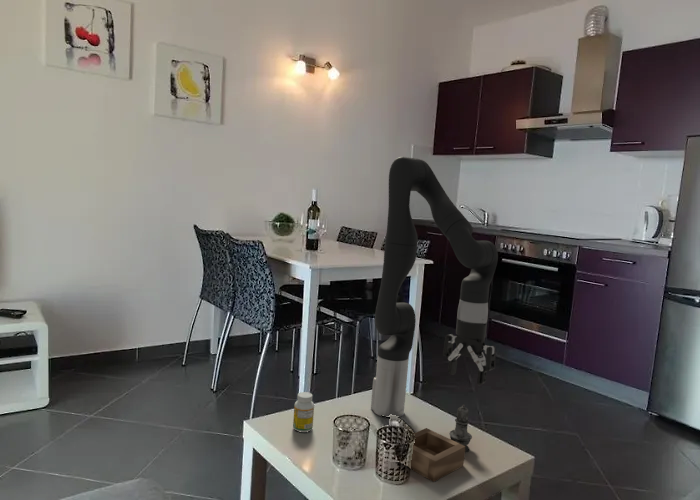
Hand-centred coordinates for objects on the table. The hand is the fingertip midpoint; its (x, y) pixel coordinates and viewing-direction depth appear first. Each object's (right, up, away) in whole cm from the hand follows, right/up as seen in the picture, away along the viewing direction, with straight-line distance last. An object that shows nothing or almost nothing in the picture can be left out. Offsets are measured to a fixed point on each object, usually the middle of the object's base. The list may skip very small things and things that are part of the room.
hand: (466, 379), depth 134 cm
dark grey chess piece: (-1, -19, +2) cm, 19 cm away
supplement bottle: (-43, -15, +6) cm, 46 cm away
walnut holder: (-11, -19, -7) cm, 23 cm away
